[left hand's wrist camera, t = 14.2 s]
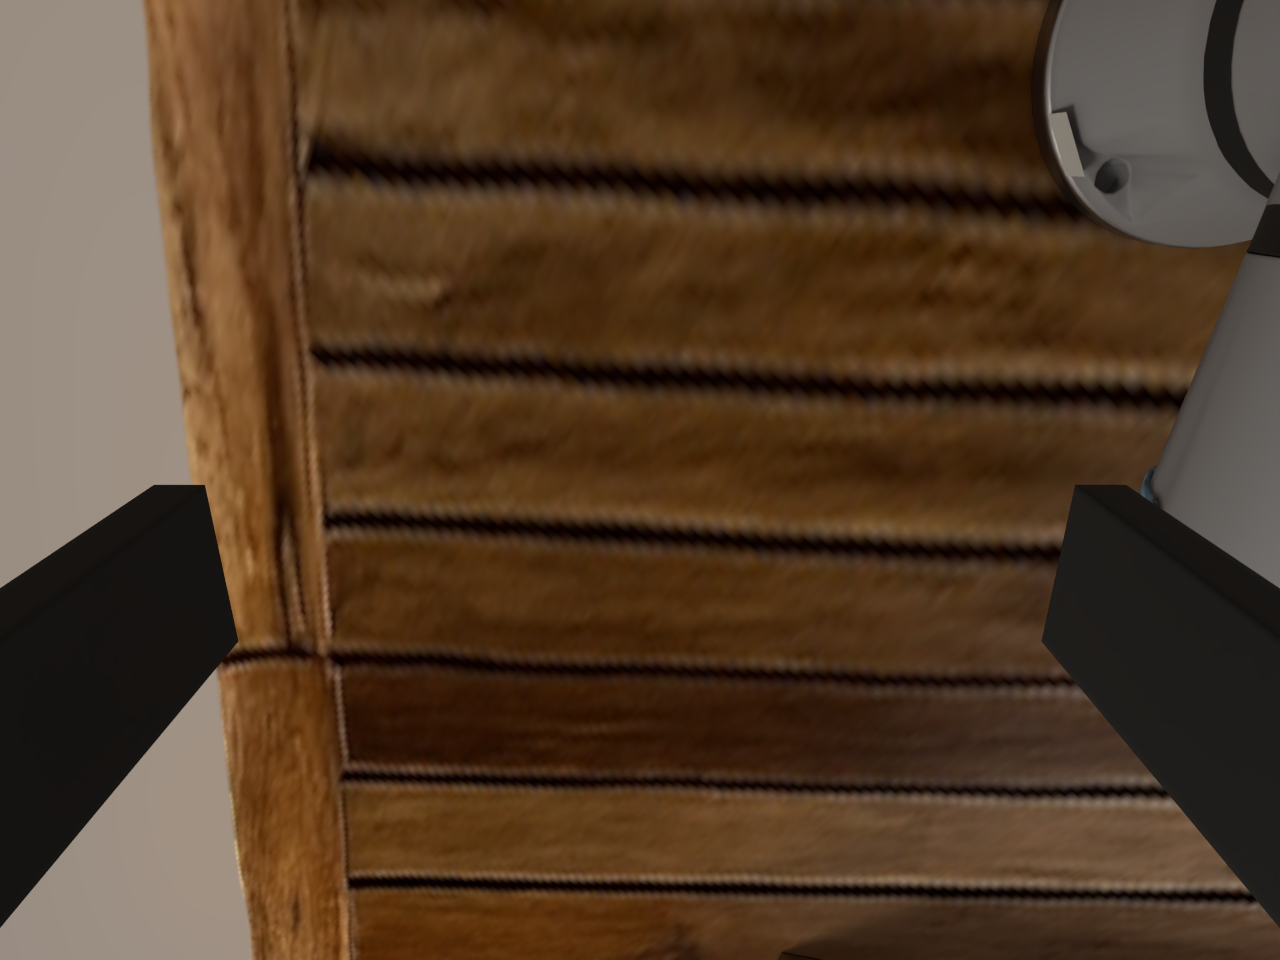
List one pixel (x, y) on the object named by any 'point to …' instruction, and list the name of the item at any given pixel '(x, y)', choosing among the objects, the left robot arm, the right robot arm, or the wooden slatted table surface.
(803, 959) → the box
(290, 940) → the wooden slatted table surface
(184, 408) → the wooden slatted table surface
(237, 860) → the wooden slatted table surface
